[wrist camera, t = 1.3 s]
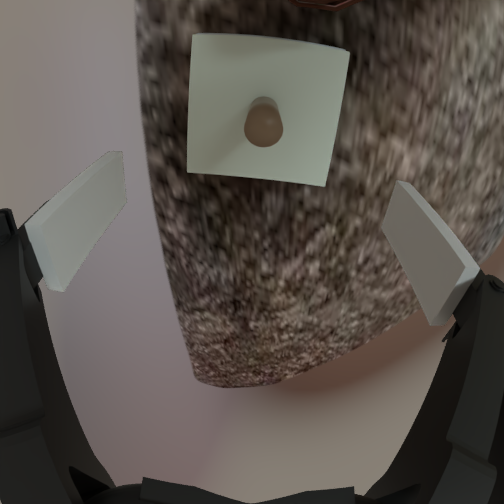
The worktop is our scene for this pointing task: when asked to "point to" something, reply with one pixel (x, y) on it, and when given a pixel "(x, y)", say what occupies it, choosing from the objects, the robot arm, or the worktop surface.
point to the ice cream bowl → (325, 4)
